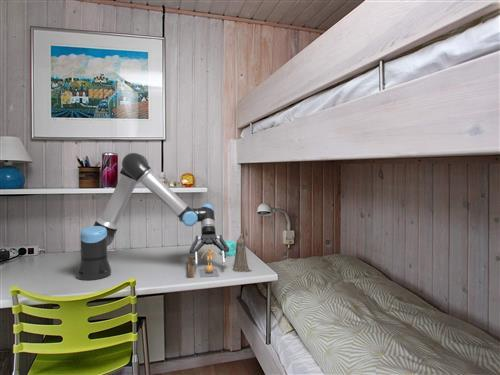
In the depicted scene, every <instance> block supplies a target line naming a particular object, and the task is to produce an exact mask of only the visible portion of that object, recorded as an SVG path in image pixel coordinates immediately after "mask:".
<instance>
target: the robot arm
mask: <svg viewBox="0 0 500 375" xmlns="http://www.w3.org/2000/svg"><path fill="white" fill-rule="evenodd" d="M119 175H120V178H119V180H118V182H117V184H116V186H115V188H114V190H113V192H112V195H111V196H110V198H109V201H108V203H107V205H106V207H105V209H104V210H103V212H102V214H101V217H99V218H97V219H95V222H94V224H93V225H92V226H88V227H84V228H82V230H81V231H80V235H79V239H80V262H79V266H78V269H77V273H76V278H77V279H78V280H81V281H94V280H95V281H96V280H101V279H104V278H105V279H106V278H107V277H109V276H111V275H112V267H111V265H110V263H109V259H108V246H110V245H111V244H112V243H113V241H114V240H115V234H117V232H118V229H119V227H118V223H119V221H120V218H121V217H122V215H123V212H124V210H125V208H126V206H127V204H128V203H129V199H130V198H131V196H132V194H133V192H134V190H135V188H136V186H137V184H140V183H141V184H142V185H143V186H144V187H145V188H146V189H147V190H149V192H151V193H152V194H153V195H154V196H155V197H156V198H157V199H158V200H159V201H160V202H161V203H163V204H164V205H165V207H167V208H168V209H169V210H170V211H171V212H172V213H173V214H174V215H175V216H176V217H178V221H179V223H183V224H184V225H185V226H187V227H193V226H195V225H196V224H197V223H198V222H199V223H200V225H201V226H200V227H201V229H200V230H201V236H199V235H195V239H194V241H193V243H192V244H191V246H190V248H189V254H192V256H193V260H195V267H197V266H198V252H199V250H201V248H202V247H204V246H205V245H213V246H215V247H217V248H218V249H219V251H220V250H221V251H222V254H221V258H222V259H221V260H222V265H223V266H224V265H225V263H226V260H225V259H226V258H227V256H226V252H229V247H228V246H227V244H226V243H225V241H226V240H224V239H223V236H222V234H219V235H216V221H215V209H214V206H213V205H212V204H211V203H204V204H202V205H201V206H200V207H195V208H194V207H193V208H192V207H190V206H189V205H188V204H186V202H185V201H183V200H182V199H181V198H180V197H179V196H178V195H177V194H176V193H175V192H174V191H173V190H172V189H171V188H169V186H167V184H165V182H164V181H162V180H161V179H160V178H159V177H158V176H157V175H156V174H155V173H154V172H153V169H152V167H151V166H150V165H149V161H148V159H147V157H145V156H144V155H142V154H140V153H137V152H131V153H127V154H126V155H125V156H123V159H122V161H121V169H120V172H119ZM199 241H200V243H199ZM219 242H220V243H219ZM198 243H199V244H198ZM221 244H222V245H223V246H222V245H221Z"/></svg>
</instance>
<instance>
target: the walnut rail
mask: <svg viewBox="0 0 500 375" xmlns="http://www.w3.org/2000/svg"><path fill="white" fill-rule="evenodd" d="M187 278H188V279H191V278H193V279H194V278H195V263H194V259H193V255H189V256H187Z"/></svg>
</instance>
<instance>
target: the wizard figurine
mask: <svg viewBox="0 0 500 375" xmlns="http://www.w3.org/2000/svg"><path fill="white" fill-rule="evenodd" d="M242 229H243V230H242V233H240V234H239V236H238V238H237V240H236V242H235V243H236V254H235V255H234V262H233V268H232V271H233V272H236V273H247V272H252V269H250V268H249V264H248V258H247V257H248V256H247V250H246V239H245V238H246V237H247V236H249V232H248V231H247V230H248V229H247V225H246V222H244V225H243V228H242Z"/></svg>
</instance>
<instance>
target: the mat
mask: <svg viewBox="0 0 500 375" xmlns="http://www.w3.org/2000/svg"><path fill="white" fill-rule="evenodd" d="M199 275H200V278H211V277H212V278H213V277H220V275H219V272H218V269H217V268H214V270H213V272H212V273H207V272H206V268H205V269H199Z"/></svg>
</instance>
